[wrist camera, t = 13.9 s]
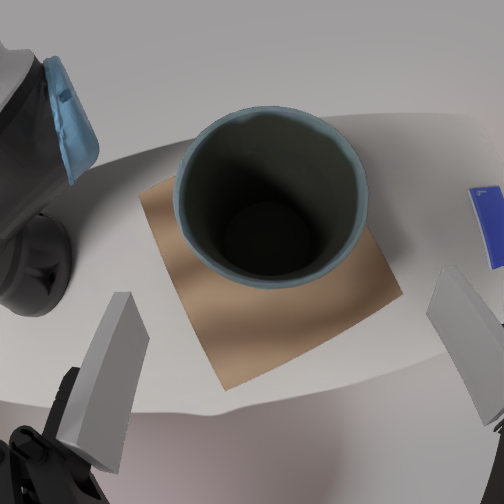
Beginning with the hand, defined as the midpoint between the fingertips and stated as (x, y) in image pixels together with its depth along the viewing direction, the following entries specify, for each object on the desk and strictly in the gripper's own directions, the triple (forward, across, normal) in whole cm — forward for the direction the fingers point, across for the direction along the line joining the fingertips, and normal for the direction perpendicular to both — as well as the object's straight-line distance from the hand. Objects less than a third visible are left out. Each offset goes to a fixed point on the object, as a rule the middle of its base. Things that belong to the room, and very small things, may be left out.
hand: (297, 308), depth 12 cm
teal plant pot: (+14, 0, -5) cm, 15 cm away
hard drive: (+22, +36, -10) cm, 43 cm away
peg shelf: (+20, 0, -11) cm, 22 cm away
